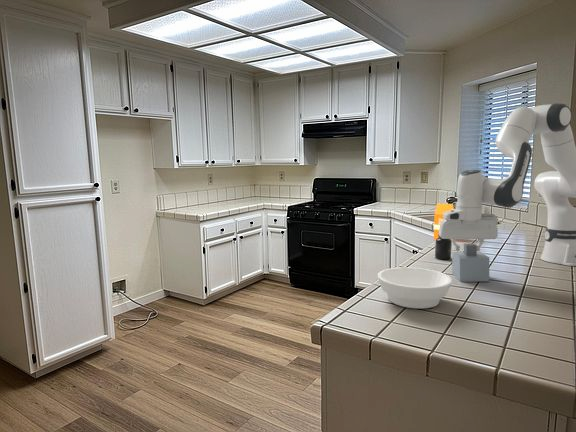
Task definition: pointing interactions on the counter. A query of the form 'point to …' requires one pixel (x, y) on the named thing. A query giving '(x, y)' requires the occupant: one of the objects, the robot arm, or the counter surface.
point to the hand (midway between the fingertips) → (466, 250)
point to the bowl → (414, 286)
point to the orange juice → (440, 216)
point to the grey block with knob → (470, 264)
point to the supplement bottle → (443, 248)
